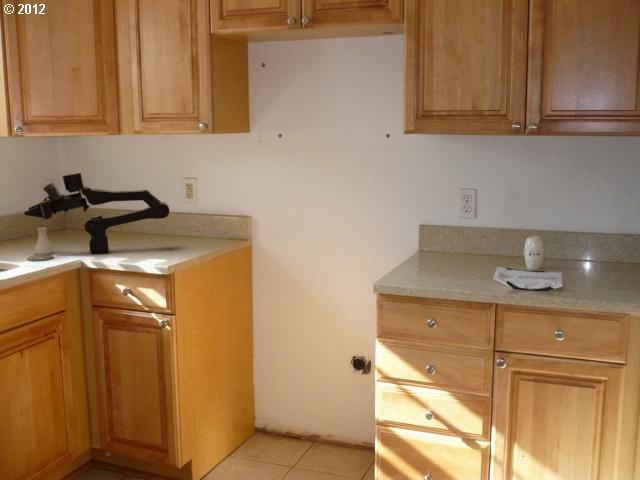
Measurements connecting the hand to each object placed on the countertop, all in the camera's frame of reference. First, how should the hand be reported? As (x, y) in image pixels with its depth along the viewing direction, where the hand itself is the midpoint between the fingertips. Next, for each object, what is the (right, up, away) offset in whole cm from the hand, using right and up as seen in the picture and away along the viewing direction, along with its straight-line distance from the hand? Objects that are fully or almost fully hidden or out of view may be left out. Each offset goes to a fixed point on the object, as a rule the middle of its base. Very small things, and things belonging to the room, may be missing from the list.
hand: (26, 211), depth 266 cm
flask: (+4, -16, +8) cm, 18 cm away
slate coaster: (+6, -18, -3) cm, 19 cm away
